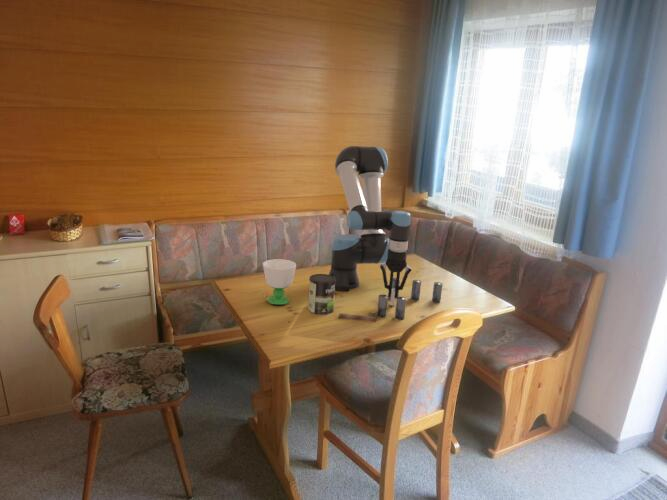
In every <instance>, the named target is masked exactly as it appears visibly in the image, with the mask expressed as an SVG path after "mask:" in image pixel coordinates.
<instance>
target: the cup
mask: <svg viewBox="0 0 667 500" xmlns="http://www.w3.org/2000/svg"><path fill="white" fill-rule="evenodd" d="M262 267H263V272H264V277H265V278H264V279H265V283H266V285H267V286H269V287H270V288H272V289H273V291H272V294H273V296H270V297H268V298H267V302H268V303H269V304H273V305H285V304H288V303H290V298H289V297H286V296H284V295H285V290H284V289H287V288H289V287H290V286H291V285H292V284H293V281H294V277H295V272H296V269H297V263H296V262H294V261H293V260H289V259H283V258H282V259H281V258H279V259H278V258H276V259H275V258H274V259H268V260H265V261H263V262H262Z"/></svg>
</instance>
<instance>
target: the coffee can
mask: <svg viewBox="0 0 667 500" xmlns="http://www.w3.org/2000/svg"><path fill="white" fill-rule="evenodd" d="M335 282H336V278H335V277H334V276H331V275H329V274H326V273H316V274H315V273H314V274H312V275H310V276H309V284H308V285H309V286H308V288H309V290H308V309H307V310H308V312H310V313H311V314H314V315H320V316H321V315H329V314H332V313H334V311H335V310H334V308H335V296H336V295H335V294H336V293H335V292H336V290H335Z"/></svg>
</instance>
